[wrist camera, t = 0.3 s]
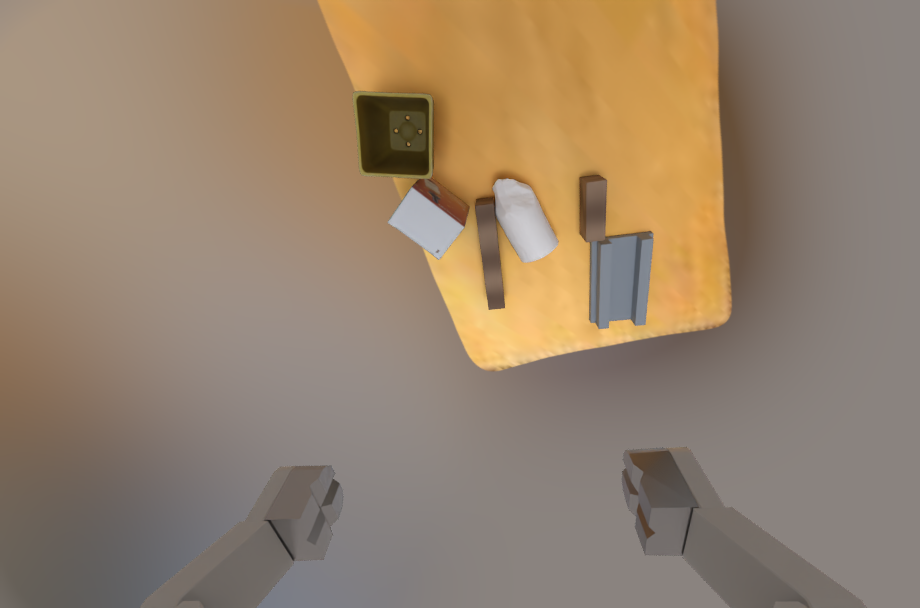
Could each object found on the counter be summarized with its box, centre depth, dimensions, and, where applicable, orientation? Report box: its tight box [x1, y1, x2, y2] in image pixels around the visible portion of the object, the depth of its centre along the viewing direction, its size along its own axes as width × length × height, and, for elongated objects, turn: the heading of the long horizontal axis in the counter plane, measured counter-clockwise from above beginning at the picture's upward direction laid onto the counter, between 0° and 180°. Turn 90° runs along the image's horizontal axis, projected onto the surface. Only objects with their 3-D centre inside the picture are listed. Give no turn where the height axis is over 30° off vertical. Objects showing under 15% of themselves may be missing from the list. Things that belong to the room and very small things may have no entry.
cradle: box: [589, 232, 653, 329], centre depth 56 cm, size 14×8×3 cm, turn 9°
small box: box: [388, 177, 470, 260], centre depth 49 cm, size 8×6×10 cm
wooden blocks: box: [475, 175, 607, 310], centre depth 53 cm, size 17×17×4 cm
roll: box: [492, 178, 559, 263], centre depth 51 cm, size 6×12×6 cm, turn 32°
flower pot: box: [353, 91, 434, 179], centre depth 45 cm, size 9×9×9 cm
